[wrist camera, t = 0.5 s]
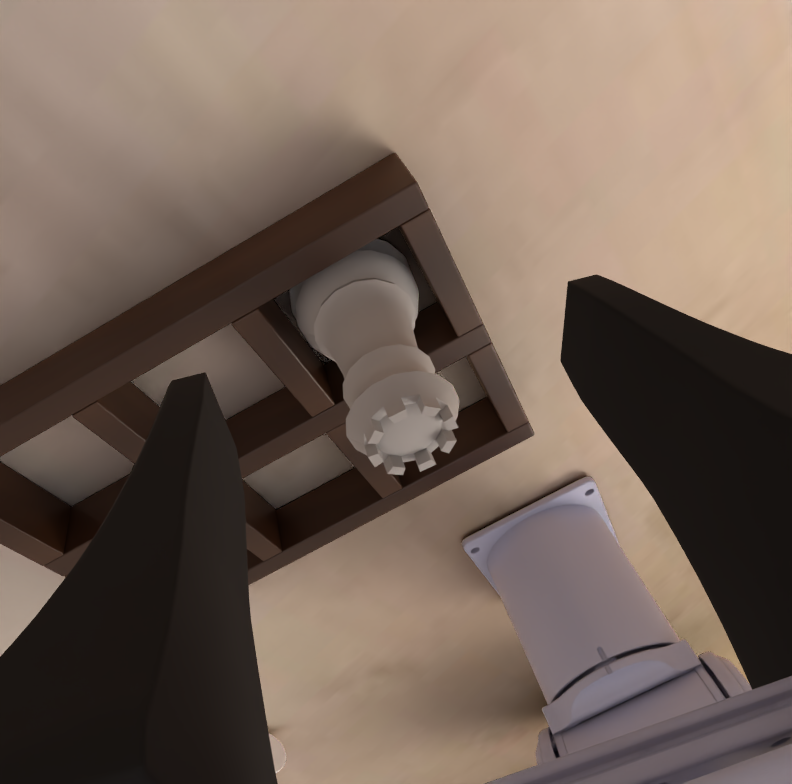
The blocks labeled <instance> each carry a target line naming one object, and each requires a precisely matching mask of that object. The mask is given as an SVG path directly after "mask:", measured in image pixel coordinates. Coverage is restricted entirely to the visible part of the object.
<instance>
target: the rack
mask: <svg viewBox="0 0 792 784" xmlns="http://www.w3.org/2000/svg"><path fill="white" fill-rule="evenodd" d="M396 227H399V229H400V231H401V233H402V235H403V237H404V239H405V241H406V243H407V244H408V246H409V248H410V250H411V252H412V254H413V256H414V258H415V260H416V262H417V264H418V266H419V267H420V269H421V271H422V273H423V275H424V277H425V279H426V281H427V283H428V285H429V287H430V289H431V290H432V292H433V294H434V296H435V298H436V300H437V303H435V304H433V305H432V306H430V307H428V308H426V309H425V310H423V311H421V312H419V313H418V316H417V318H416V320H415V328H414V330H413V331H414V335H415V339H416V343H417V347H418V349H419V350H421V351H422V352H424V353H425V354H426V355H428V356H429V357H430V359H431V361H432V363H433V366H434V368H435V373H436V372H438V371H440V370H442V369H443V368H445V367H447V366H449V365H451V364H453V363H454V362H456V361H458V360H460V359H462V358H464V357H465V356H466V357H467V359H468V361H469V363H470V365H471V367H472V369H473V371H474V373H475V375H476V377H477V379H478V380H479V382H480V384H481V386H482V388H483V390H484V392H485V394H486V396H487V397H486V398H485V399H483V400H481V401H479V402H477V403H475V404H473V405H472V406H470V407H468V408H466V409H464V410H462V411H460V412H458V417H457V419H456V421H455V422H456V424H457V426H458V428H456V429H453V430H452V432H453V434H454V436H455V438H456V440H457V441H456V443H455V444H454V446H453V448H452V449H451V451H450V453H446V452H443V451H441V450H440V447H439V446H438V447H437V448H436V449H435V450H434V451H433V452H431V454H432V456H433V458H434V461H435V463H436V465H434V466H432V467H430V468H428V469H425V470H423V471H421V472H420V470H419V468H418V465H417V463H416V460H414V461H409V462H403V463H404V465H405V471H404V474H403V475H395V474H387V471H386V468H385V466H384V463H383V462H382V463H381V464H379V465H378V466H376V467H374V465H373V464H372V462H371V461H370V459H369V458H368V456H367V455H365V454H363V453H361V452H359V451H357V450H356V449H355V448H354V446H353V445H352V443H351V442H350V440H349V439H348V438H347V435H346V418H347V415H348V413H349V411H350V408H349V406H348V405H347V403H346V402H345V400H344V399H343V382H344V380H345V379H344V376H343V374H342V372H341V370H340V368H339V367H338V365H337V363H336V362H334V361H332V362H330V363H328V364H326V365H323V364H322V362H321V361H320V360H319V358H318V357H317V356H316V355H315V353H314V352H313V351H312V349H311V348H310V347H309V345H308V344H307V343H306V342H305V340H304V339H303V338H302V336H301V335H300V334H299V333H298V331H297V330H296V329H295V327H294V326H293V325H292V323H291V322H290V321H289V320H288V318H287V317H286V316H285V314H284V313H283V312H282V311H281V309H280V308H279V307H278V305H277V304H276V303H275V301H274V300H273V298H275V297H277V296H279V295H280V294H282V293H284V292H286V291H287V290H289V289H291V288H292V287H294V286H296V285H298V284H299V283H301V282H303V281H305V280H306V279H308V278H310V277H312V276H313V275H315V274H317V273H318V272H320V271H322V270H324V269H325V268H327V267H329V266H331V265H332V264H334V263H336V262H337V261H339V260H341V259H343V258H344V257H346V256H348V255H350V254H351V253H353V252H355V251H356V250H358V249H360V248H362V247H363V246H365V245H367V244H369V243H370V242H372V241H374V240H376V239H377V238H379V237H381V236H382V235H384V234H386V233H388V232H389V231H391V230H393V229H395V228H396ZM230 323H232V325H233V327H234V328H235V329H236V330H237V331H238V332H239V334H240V335H241V336H242V337H243V338H244V339H245V340H246V342H247V343H248V344H249V345H250V346H251V347H252V348H253V350H254V351H255V352H256V353H257V354H258V355H259V357H260V358H261V359H262V360H263V361H264V362H265V363H266V365H267V366H268V367H269V368H270V369H271V370H272V371H273V373H274V374H275V375H276V376H277V377H278V378H279V380H280V381H281V382H282V383H283V384H284V385H285V386H286V387H285V388H283V389H282V390H280V391H278V392H276V393H274V394H273V395H271V396H269V397H267V398H265V399H264V400H262V401H260V402H258V403H257V404H255V405H253V406H251V407H249V408H248V409H246V410H244V411H242V412H240V413H239V414H237V415H235V416H233V417H232V418H230V419H228V420H226V423H227V426H228V428H229V431H230V433H231V435H232V438H233V440H234V443H235V445H236V448H237V453H238V459H239V465H240V470H241V476H242V478H244V477H246V476H248V475H249V474H251V473H253V472H255V471H257V470H259V469H260V468H262V467H264V466H266V465H268V464H270V463H271V462H273V461H275V460H277V459H279V458H281V457H282V456H284V455H286V454H288V453H290V452H292V451H293V450H295V449H297V448H299V447H301V446H303V445H304V444H306V443H308V442H310V441H312V440H314V439H315V438H317V437H319V436H321V435H323V434H324V433H326V434H327V435H328V436H329V437H330V438H331V440H332V441H333V442H334V443H335V444H336V445H337V446H338V448H339V449H340V450H341V451H342V452H343V453H344V454H345V456H346V457H347V458H348V459H349V460H350V461H351V463H352V464H353V465H354V466H355V467H356V468H354V469H352V470H350V471H349V472H347V473H345V474H343V475H341V476H339V477H337V478H336V479H334V480H332V481H330V482H328V483H326V484H324V485H322V486H321V487H319V488H317V489H315V490H313V491H311V492H309V493H308V494H306V495H304V496H302V497H300V498H298V499H296V500H295V501H293V502H291V503H289V504H287V505H285V506H283V507H281V508H280V509H278V510H275V509H274V508H273V507H272V506H271V505H270V504H268V503H267V502H266V501H265V500H264V499H263V498H262V497H261V496H259V495H258V494H257V493H256V492H255V491H254V490H253V489H251V488H250V487H249V486H248V485H247V484H246V483H245V482H244V481H242V482H243V488H244V497H245V517H246V540H247V564H248V585H250V584H252V583H253V582H255V581H257V580H259V579H261V578H263V577H265V576H267V575H269V574H271V573H273V572H274V571H276V570H278V569H280V568H282V567H284V566H286V565H288V564H290V563H292V562H293V561H295V560H297V559H299V558H301V557H303V556H305V555H307V554H309V553H311V552H313V551H314V550H316V549H318V548H320V547H322V546H324V545H326V544H328V543H330V542H332V541H333V540H335V539H337V538H339V537H341V536H343V535H345V534H347V533H349V532H351V531H353V530H354V529H356V528H358V527H360V526H362V525H364V524H366V523H368V522H370V521H372V520H374V519H375V518H377V517H379V516H381V515H383V514H385V513H387V512H389V511H391V510H393V509H394V508H396V507H398V506H400V505H402V504H404V503H406V502H408V501H410V500H412V499H414V498H415V497H417V496H419V495H421V494H423V493H425V492H427V491H429V490H431V489H433V488H434V487H436V486H438V485H440V484H442V483H444V482H446V481H448V480H450V479H452V478H454V477H455V476H457V475H459V474H461V473H463V472H465V471H467V470H469V469H471V468H473V467H474V466H476V465H478V464H480V463H482V462H484V461H486V460H488V459H490V458H492V457H494V456H495V455H497V454H499V453H501V452H503V451H505V450H507V449H509V448H511V447H513V446H514V445H516V444H518V443H520V442H522V441H524V440H526V439H528V438H530V437H532V436H533V435H534V432H533V429H532V427H531V425H530V423H529V421H528V419H527V416H526V414H525V412H524V410H523V408H522V406H521V404H520V401H519V399H518V397H517V395H516V393H515V391H514V389H513V387H512V384H511V382H510V380H509V378H508V376H507V374H506V372H505V369H504V367H503V365H502V363H501V361H500V359H499V357H498V354H497V352H496V350H495V348H494V346H493V344H492V342H491V339H490V337H489V335H488V333H487V331H486V329H485V326H484V324H483V323H482V320H481V318H480V316H479V314H478V311H477V309H476V307H475V305H474V303H473V301H472V299H471V296H470V294H469V292H468V290H467V288H466V286H465V284H464V281H463V279H462V277H461V275H460V273H459V271H458V269H457V266H456V264H455V262H454V260H453V258H452V256H451V254H450V251H449V249H448V247H447V245H446V243H445V241H444V239H443V236H442V234H441V232H440V230H439V228H438V226H437V224H436V221H435V219H434V217H433V215H432V213H431V211H430V209H429V208H428V205H427V202H426V200H425V198H424V196H423V194H422V192H421V190H420V187H419V185H418V183H417V181H416V180H415V179H414V177H413V176H412V175H411V173H410V172H409V170H408V169H407V168H406V166H405V165H404V164H403V162H402V161H401V159H400V158H399V157H398V155H397V154H396V153H393V154H391V155H389V156H388V157H386V158H384V159H383V160H381V161H379V162H378V163H376V164H374V165H373V166H371V167H369V168H367V169H366V170H364V171H362V172H361V173H359V174H357V175H356V176H354V177H352V178H351V179H349V180H347V181H346V182H344V183H342V184H340V185H339V186H337V187H335V188H334V189H332V190H330V191H329V192H327V193H325V194H324V195H322V196H320V197H319V198H317V199H315V200H313V201H312V202H310V203H308V204H307V205H305V206H303V207H302V208H300V209H298V210H297V211H295V212H293V213H292V214H290V215H288V216H286V217H285V218H283V219H281V220H280V221H278V222H276V223H275V224H273V225H271V226H270V227H268V228H266V229H265V230H263V231H261V232H259V233H258V234H256V235H254V236H253V237H251V238H249V239H248V240H246V241H244V242H243V243H241V244H239V245H238V246H236V247H234V248H232V249H231V250H229V251H227V252H226V253H224V254H222V255H221V256H219V257H217V258H216V259H214V260H212V261H211V262H209V263H207V264H205V265H204V266H202V267H200V268H199V269H197V270H195V271H194V272H192V273H190V274H189V275H187V276H185V277H184V278H182V279H180V280H178V281H177V282H175V283H173V284H172V285H170V286H168V287H167V288H165V289H163V290H162V291H160V292H158V293H157V294H155V295H153V296H151V297H150V298H148V299H146V300H145V301H143V302H141V303H140V304H138V305H136V306H135V307H133V308H131V309H130V310H128V311H126V312H124V313H123V314H121V315H119V316H118V317H116V318H114V319H113V320H111V321H109V322H108V323H106V324H104V325H103V326H101V327H99V328H98V329H96V330H94V331H92V332H91V333H89V334H87V335H86V336H84V337H82V338H81V339H79V340H77V341H76V342H74V343H72V344H71V345H69V346H67V347H65V348H64V349H62V350H60V351H59V352H57V353H55V354H54V355H52V356H50V357H49V358H47V359H45V360H44V361H42V362H40V363H38V364H37V365H35V366H33V367H32V368H30V369H28V370H27V371H25V372H23V373H22V374H20V375H18V376H17V377H15V378H13V379H11V380H10V381H8V382H6V383H5V384H3V385H1V386H0V456H2V455H4V454H5V453H7V452H9V451H11V450H12V449H14V448H16V447H18V446H19V445H21V444H23V443H24V442H26V441H28V440H30V439H31V438H33V437H35V436H37V435H38V434H40V433H42V432H43V431H45V430H47V429H49V428H50V427H52V426H54V425H56V424H57V423H59V422H61V421H62V420H64V419H66V418H68V417H69V416H71V415H72V416H73V417H74V418H75V419H76V420H78V421H79V422H80V423H82V424H83V425H84V426H86V427H87V428H88V429H90V430H91V431H92V432H94V433H95V434H96V435H98V436H99V437H100V438H101V439H103V440H104V441H105V442H107V443H108V444H109V445H111V446H112V447H113V448H115V449H116V450H117V451H119V452H120V453H121V454H123V455H124V456H125V457H127V458H128V459H129V460H130V461H132V462H133V463H134V464H135V463H136V461H137V458H138V456H139V454H140V452H141V450H142V448H143V446H144V444H145V441H146V439H147V437H148V435H149V433H150V430H151V428H152V426H153V423H154V421H155V419H156V416H157V414H158V411H159V409H160V407H159V406H157V405H156V404H155V403H154V402H153V401H152V400H151V399H149V398H148V397H147V396H146V395H145V394H144V393H143V392H141V391H140V390H139V389H138V388H137V387H136V386H135V385H134V384H132V383H131V382H130V381H132V380H133V379H135V378H137V377H139V376H140V375H142V374H144V373H145V372H147V371H149V370H151V369H152V368H154V367H156V366H158V365H159V364H161V363H163V362H165V361H166V360H168V359H170V358H171V357H173V356H175V355H177V354H178V353H180V352H182V351H184V350H185V349H187V348H189V347H190V346H192V345H194V344H196V343H197V342H199V341H201V340H203V339H204V338H206V337H208V336H209V335H211V334H213V333H215V332H216V331H218V330H220V329H222V328H223V327H225V326H227V325H229V324H230ZM128 477H129V475H128V476H126V477H124V478H123V479H121V480H119V481H117V482H115V483H114V484H112V485H110V486H108V487H106V488H105V489H103V490H101V491H99V492H98V493H96V494H94V495H92V496H90V497H89V498H87V499H85V500H83V501H81V502H80V503H78V504H76V505H74V506H73V507H70V506H69V505H67V504H66V503H64V502H63V501H61V500H59V499H58V498H56V497H55V496H53V495H51V494H50V493H48V492H47V491H45V490H44V489H42V488H40V487H39V486H37V485H36V484H34V483H32V482H31V481H29V480H28V479H26V478H24V477H23V476H21V475H20V474H18V473H17V472H15V471H13V470H12V469H10V468H9V467H7V466H5V465H4V464H2V463H1V462H0V544H2V545H4V546H6V547H8V548H10V549H12V550H13V551H15V552H17V553H19V554H21V555H23V556H25V557H27V558H29V559H31V560H33V561H34V562H36V563H38V564H40V565H42V566H45V567H46V568H48V569H50V570H52V571H54V572H56V573H58V574H60V575H61V576H65V577H67V575H68V574H69V572H70V571H71V570H72V568H73V567H74V566H75V564H76V563H77V561H78V560H79V559H80V557H81V556H82V554H83V553H84V551H85V550H86V548H87V547H88V545H89V544H90V542H91V541H92V539H93V538H94V536H95V534H96V533H97V531H98V530H99V528H100V526H101V525H102V523H103V521H104V520H105V518H106V516H107V515H108V513H109V511H110V510H111V508H112V506H113V504H114V502H115V501H116V499H117V497H118V495H119V493H120V491H121V490H122V488H123V486H124V484H125V482H126V480H127V479H128Z"/></svg>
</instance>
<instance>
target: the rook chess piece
mask: <svg viewBox="0 0 792 784" xmlns="http://www.w3.org/2000/svg"><path fill="white" fill-rule="evenodd" d="M290 300H291V310H292V314H293V315H294V317H295V318H296V320H297V326H298V328H299V329H300V331H301V332H302V334H303V335H304V337H305V338H306V340H307V342H308V343H309V344H310V345H311V346H312V348H314V349H315V350H317V351H318V352H320V353H322V354H323V355H325V356H326V357H328V358H330V359H331V360H333V361H334V362H336V363H337V365H338V367H339V368H340V370H341V372H342V374H343V376H344V379H345V380H344V382H343V399H344V400H345V402H346V403H347V405H348V406H349V408H350V411H349V413H348V415H347V418H346V435H347V438H348V439H349V440H350V442H351V443H352V445H353V446H354V448H355V449H356V450H357V451H359V452H361V453H363V454H365V455H367V456H368V458H369V459H370V461H371V462H372V464H373V465H374V467H376V466H378V465H379V464H381V463H382V462H383V463H384V466H385V468H386V471H387V474H395V475H403V474H404V471H405V465H404V463H403V462H409V461H414V460H416V463H417V465H418V468H419V470H420V472H421V471H423V470H425V469H428V468H430V467H432V466H434V465H436V463H435V461H434V458H433V456H432V454H431V452H433V451H434V450H435V449H436V448H437V447H438V446H439V447H440V450H441V451H443V452H446V453H450V451H451V449H452V448H453V446H454V444H455V443H456V441H457V440H456V438H455V436H454V434H453V432H452V430H453V429H456V428H458V426H457V424H456V422H455V421H456V419H457V417H458V409H459V401H460V400H459V397H458V395H457V393H456V391H455V388H454V386H453V385H452V384H451V383H449V382H448V381H447V380H445V379H444V378H442V377H441V376H440V375H438V374H435V368H434V366H433V363H432V361H431V359H430V357H429V356H428V355H426V354H425V353H424V352H422V351H421V350H419V349H418V347H417V343H416V339H415V335H414V331H413V330H414V328H415V320H416V318H417V316H418V301H419V290H418V287H417V285H416V282H415V280H414V278H413V274H412V272H411V269H410V267H409V265H408V263H407V260H406V258H405V256H404V255H403V254H401V253H400V252H399V251H398V250H397V249H395V248H394V247H393V246H392V245H391V244H390V243H388V242H386V241H382V240H379V239H376V240H374V241H372V242H370V243H369V244H367V245H365V246H363V247H362V248H360V249H358V250H356V251H355V252H353V253H351V254H350V255H348V256H346V257H344V258H343V259H341V260H339V261H337V262H336V263H334V264H332V265H331V266H329V267H327V268H325V269H324V270H322V271H320V272H318V273H317V274H315V275H313V276H312V277H310V278H308V279H306V280H305V281H303V282H301V283H299V284H298V285H296V286H294V287H292V288H291V289H290Z"/></svg>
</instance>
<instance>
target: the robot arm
mask: <svg viewBox="0 0 792 784" xmlns="http://www.w3.org/2000/svg"><path fill="white" fill-rule="evenodd" d="M561 363H562V365H563V367H564V369H565V371H566V373H567V375H568V376H569V378H570V380H571V382H572V384H573V386H574V388H575V389H576V391H577V393H578V395H579V397H580V398H581V400H582V402H583V403H584V404H585V406H586V407H587V409H588V410H589V411H590V413H591V414H592V415H593V417H594V418H595V419H596V421H597V422H598V424H599V425H600V426H601V428H602V429H603V430H604V432H605V433H606V434H607V436H608V437H609V438H610V440H611V441H612V442H613V444H614V445H615V446H616V448H617V449H618V450H619V452H620V453H621V454H622V456H623V457H624V458H625V460H626V461H627V462H628V464H629V465H630V466H631V468H632V469H633V470H634V472H635V473H636V474H637V476H638V477H639V478H640V480H641V481H642V482H643V484H644V485H645V487H646V488H647V490H648V491H649V493H650V494H651V496H652V497H653V499H654V500H655V502H656V504H657V505H658V507H659V509H660V510H661V512H662V514H663V516H664V517H665V519H666V521H667V522H668V524H669V526H670V527H671V529H672V531H673V533H674V534H675V536H676V538H677V539H678V541H679V543H680V545H681V547H682V549H683V550H684V552H685V554H686V556H687V558H688V559H689V561H690V563H691V565H692V567H693V569H694V570H695V572H696V574H697V576H698V578H699V580H700V582H701V583H702V585H703V587H704V589H705V591H706V593H707V595H708V597H709V599H710V601H711V603H712V605H713V607H714V609H715V611H716V613H717V615H718V617H719V619H720V621H721V623H722V625H723V627H724V629H725V631H726V633H727V635H728V638H729V640H730V642H731V644H732V646H733V648H734V650H735V653H736V655H737V657H738V659H739V661H740V663H741V666H742V668H743V670H744V672H745V674H746V676H747V679H748V681H749V683H750V684H749V683H748V682H747V680H746V679H745V678H744V676H743V675H742V674H741V673H740V671H739V670H738V669H737V668H736V667H735V666H734V665H733V663H732V662H730V661H729V660H728V659H726V658H723V657H720V656H717V655H715V654H714V653H712V652H709V651H708V652H705V653H703V654H700V655H698V657H699V659H698V658H697V656H696V654H695V653H694V651H693V650H692V648H691V647H690V645H689V644H688V642H687V641H686V640H681V641H680V639H679V637H678V636H677V634H676V633H675V631H674V630H673V628H672V626H671V625H670V623H669V622H668V620H667V619H666V617H665V616H664V614H663V612H662V611H661V609H660V608H659V606H658V605H657V603H656V601H655V600H654V598H653V597H652V595H651V594H650V592H649V591H648V589H647V587H646V586H645V584H644V583H643V581H642V580H641V578H640V576H639V575H638V573H637V572H636V570H635V569H634V567H633V566H632V564H631V562H630V561H629V559H628V558H627V556H626V555H625V553H624V551H623V550H622V548H621V547H620V545H619V542H618V540H617V537H616V534H615V532H614V529H613V527H612V524H611V521H610V519H609V516H608V514H607V511H606V508H605V506H604V503H603V501H602V498H601V496H600V493H599V490H598V488H597V485H596V483H595V481H594V480H593V478H592V477H589V476H588V477H583V478H581V479H579V480H577V481H575V482H573V483H571V484H569V485H567V486H566V487H564V488H562V489H560V490H558V491H556V492H554V493H552V494H550V495H548V496H546V497H544V498H542V499H540V500H538V501H536V502H534V503H532V504H530V505H528V506H526V507H525V508H523V509H521V510H519V511H517V512H515V513H513V514H511V515H509V516H507V517H505V518H503V519H501V520H499V521H497V522H495V523H493V524H491V525H489V526H487V527H486V528H484V529H482V530H480V531H478V532H476V533H474V534H472V535H470V536H468V537H466V538H465V539H464V540H463V541H462V546H463V549H464V550H465V552H466V553H467V554H468V556H469V557H470V558H471V559H472V561H473V562H474V563H475V565H476V566H477V567H478V568H479V570H480V571H481V572H482V574H483V575H484V576H485V577H486V579H487V580H488V581H489V583H490V584H491V585H492V586H493V588H494V589H495V590H496V592H497V593H498V594H499V595H500V597H501V599H502V601H503V603H504V606H505V608H506V610H507V613H508V615H509V617H510V619H511V622H512V624H513V626H514V629H515V631H516V633H517V635H518V638H519V640H520V642H521V645H522V647H523V649H524V651H525V654H526V656H527V658H528V661H529V663H530V665H531V667H532V670H533V672H534V674H535V677H536V679H537V681H538V683H539V686H540V688H541V690H542V692H543V695H544V697H545V699H546V702H547V704H548V705H546V706H544V707H543V708H542V711H543V713H544V716H545V718H546V720H547V723H548V725H549V727H548V728H546V729H543V730H542V731H541V732H540V733H539V736H538V744H537V748H536V760H537V764H538V765H536V766H533V767H530V768H527V769H525V770H522V771H519V772H516V773H513V774H510V775H507V776H505V777H502V778H499V779H496V780H493V781H490V782H488V783H485V784H792V354H789V353H786V352H783V351H779V350H776V349H773V348H770V347H767V346H764V345H761V344H758V343H756V342H753V341H750V340H747V339H745V338H742V337H740V336H737V335H734V334H732V333H729V332H727V331H724V330H722V329H719V328H716V327H714V326H712V325H709V324H707V323H705V322H702V321H700V320H698V319H695V318H693V317H691V316H688V315H686V314H684V313H682V312H679V311H677V310H675V309H673V308H671V307H668V306H666V305H664V304H662V303H660V302H657V301H655V300H653V299H651V298H649V297H647V296H645V295H642V294H640V293H638V292H636V291H634V290H632V289H629V288H627V287H625V286H623V285H621V284H618V283H616V282H614V281H612V280H609V279H607V278H604V277H602V276H599V275H593V276H589V277H585V278H581V279H577V280H573V281H569V282H568V287H567V297H566V308H565V319H564V329H563V340H562V350H561ZM750 685H751V686H750ZM0 784H277V779H276V773H275V767H274V762H273V756H272V750H271V744H270V739H269V733H268V727H267V721H266V715H265V709H264V703H263V697H262V690H261V684H260V678H259V672H258V665H257V658H256V652H255V645H254V638H253V631H252V624H251V616H250V604H249V589H248V564H247V540H246V517H245V497H244V488H243V482H242V476H241V470H240V465H239V459H238V453H237V448H236V445H235V443H234V440H233V438H232V435H231V433H230V431H229V428H228V426H227V423H226V421H225V419H224V416H223V414H222V411H221V409H220V407H219V404H218V402H217V399H216V397H215V394H214V392H213V390H212V387H211V385H210V382H209V380H208V378H207V375H206V373H201V374H197V375H193V376H189V377H185V378H181V379H177V380H173V381H172V382H171V383H170V385H169V386H168V389H167V391H166V394H165V396H164V399H163V401H162V404H161V406H160V409H159V411H158V414H157V416H156V419H155V421H154V423H153V426H152V428H151V430H150V433H149V435H148V437H147V439H146V441H145V444H144V446H143V448H142V450H141V452H140V454H139V456H138V458H137V461H136V463H135V465H134V467H133V469H132V471H131V473H130V475H129V477H128V479H127V480H126V482H125V484H124V486H123V488H122V490H121V491H120V493H119V495H118V497H117V499H116V501H115V502H114V504H113V506H112V508H111V510H110V511H109V513H108V515H107V516H106V518H105V520H104V521H103V523H102V525H101V526H100V528H99V530H98V531H97V533H96V534H95V536H94V538H93V539H92V541H91V542H90V544H89V545H88V547H87V548H86V550H85V551H84V553H83V554H82V556H81V557H80V559H79V560H78V561H77V563H76V564H75V566H74V567H73V568H72V570H71V571H70V572H69V574H68V575H67V577H66V578H65V579H64V581H63V582H62V583H61V585H60V586H59V587H58V588H57V590H56V591H55V592H54V594H53V595H52V596H51V597H50V599H49V600H48V601H47V603H46V604H45V605H44V606H43V608H42V609H41V610H40V612H39V613H38V614H37V615H36V617H35V618H34V619H33V620H32V621H31V623H30V624H29V625H28V626H27V627H26V628H25V629H24V631H23V632H22V633H21V634H20V635H19V636H18V638H17V639H16V640H15V641H14V642H13V643H12V645H11V646H10V647H9V648H8V649H7V650H6V651H5V652H4V653H3V654H2V655H1V657H0Z"/></svg>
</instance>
